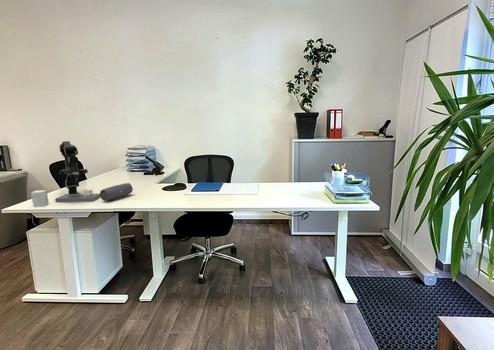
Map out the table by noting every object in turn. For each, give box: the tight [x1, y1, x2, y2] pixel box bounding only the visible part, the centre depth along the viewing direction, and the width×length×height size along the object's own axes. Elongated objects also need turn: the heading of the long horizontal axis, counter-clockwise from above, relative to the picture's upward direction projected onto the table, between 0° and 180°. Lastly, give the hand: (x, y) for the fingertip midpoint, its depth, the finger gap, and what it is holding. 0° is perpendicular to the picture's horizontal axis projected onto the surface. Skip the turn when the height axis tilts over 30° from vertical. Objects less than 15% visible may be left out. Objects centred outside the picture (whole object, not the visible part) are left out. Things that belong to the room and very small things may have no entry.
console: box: [54, 192, 101, 203], centre depth 232 cm, size 12×28×3 cm, turn 87°
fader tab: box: [82, 189, 94, 196], centre depth 231 cm, size 4×5×4 cm
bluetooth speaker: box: [99, 182, 134, 202], centre depth 232 cm, size 23×9×10 cm, turn 151°
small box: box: [30, 189, 50, 207], centre depth 220 cm, size 8×6×10 cm
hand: (75, 183), depth 230 cm, fingers closed
